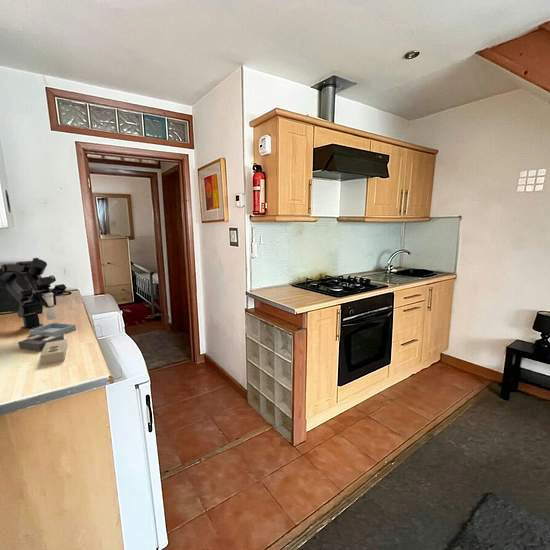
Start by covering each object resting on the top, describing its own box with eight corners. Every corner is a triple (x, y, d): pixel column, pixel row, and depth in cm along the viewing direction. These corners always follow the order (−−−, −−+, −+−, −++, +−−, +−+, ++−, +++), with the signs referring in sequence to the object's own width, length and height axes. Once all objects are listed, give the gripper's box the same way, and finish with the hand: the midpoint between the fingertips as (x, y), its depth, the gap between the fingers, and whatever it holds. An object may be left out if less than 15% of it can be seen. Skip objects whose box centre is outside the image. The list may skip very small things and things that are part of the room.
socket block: (19, 348, 125) (18, 341, 125) (45, 339, 136) (44, 332, 135) (39, 351, 122) (38, 343, 122) (64, 341, 133) (63, 334, 132)
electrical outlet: (66, 337, 128) (63, 351, 113) (67, 346, 129) (64, 361, 114) (45, 340, 124) (39, 355, 109) (46, 349, 125) (41, 366, 110)
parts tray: (29, 335, 141) (29, 330, 141) (54, 327, 153) (53, 322, 152) (52, 337, 138) (52, 332, 137) (75, 329, 149) (75, 324, 149)
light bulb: (45, 319, 142) (41, 294, 140) (50, 317, 145) (47, 292, 144) (53, 319, 142) (49, 294, 140) (57, 317, 146) (54, 292, 144)
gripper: (17, 273, 134) (33, 299, 131) (62, 268, 150) (77, 291, 147) (11, 288, 138) (26, 314, 135) (55, 282, 155) (70, 305, 152)
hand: (51, 305), depth 142 cm, fingers closed on light bulb, 3 cm apart
